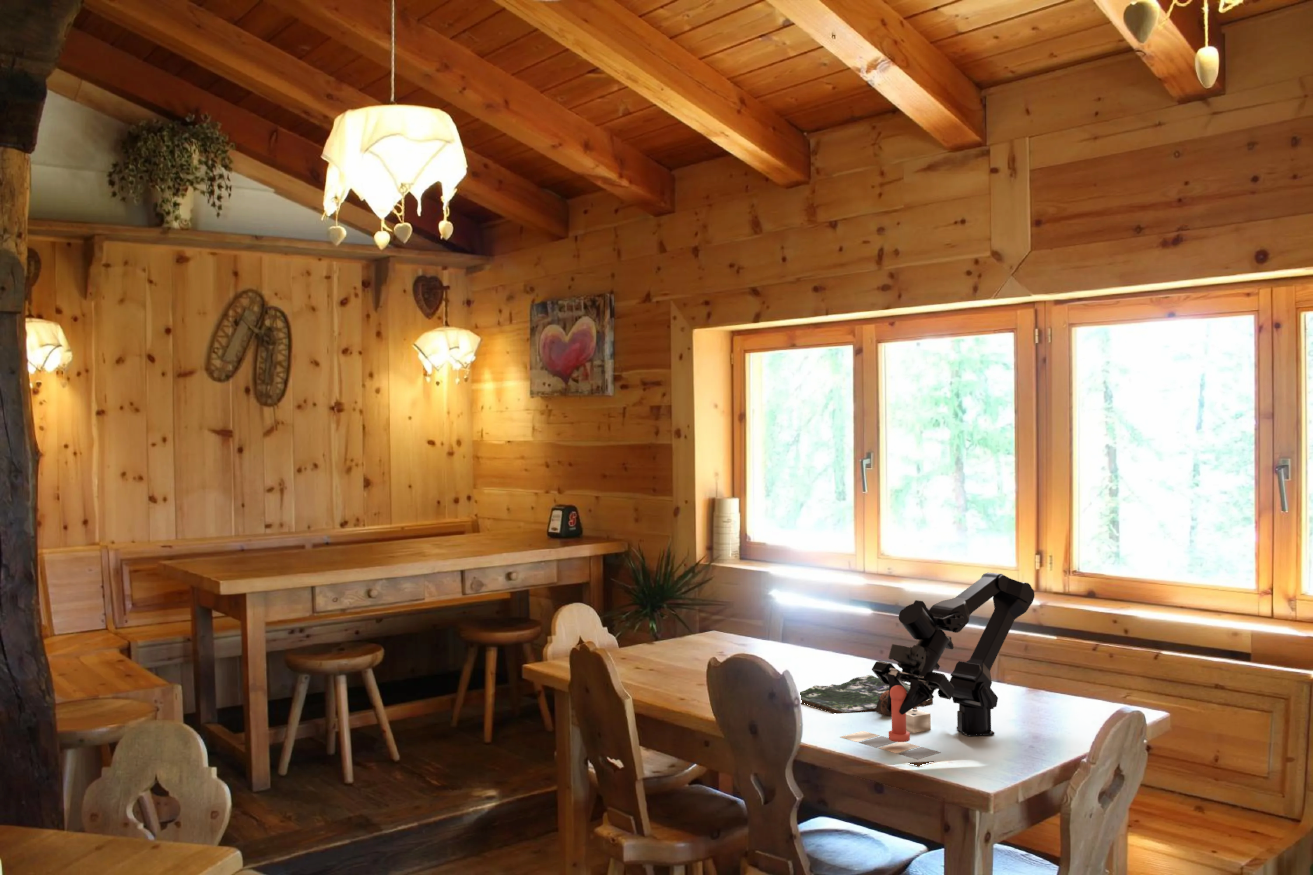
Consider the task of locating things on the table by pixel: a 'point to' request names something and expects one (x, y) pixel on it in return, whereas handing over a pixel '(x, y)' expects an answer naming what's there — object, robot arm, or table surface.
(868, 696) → the topographical map
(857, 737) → the game board
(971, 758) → the table surface
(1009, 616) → the robot arm
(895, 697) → the pawn
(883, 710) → the pottery mug
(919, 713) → the die
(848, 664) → the table surface
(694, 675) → the table surface
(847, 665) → the table surface
